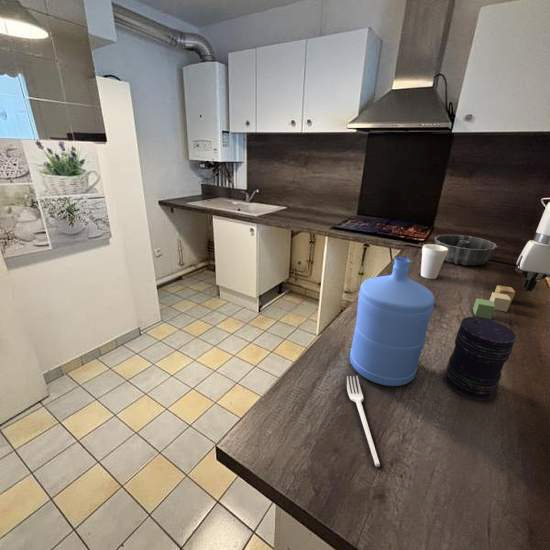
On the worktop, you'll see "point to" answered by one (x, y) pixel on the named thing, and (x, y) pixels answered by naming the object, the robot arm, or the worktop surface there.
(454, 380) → the dark blue cylinder
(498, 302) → the beige block
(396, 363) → the water jug
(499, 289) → the maple block
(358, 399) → the fork
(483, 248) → the bundt pan
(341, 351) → the worktop surface
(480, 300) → the sage block
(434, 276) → the foam cup
